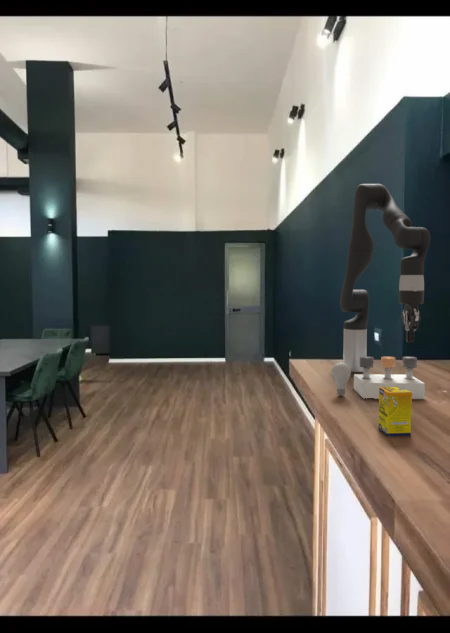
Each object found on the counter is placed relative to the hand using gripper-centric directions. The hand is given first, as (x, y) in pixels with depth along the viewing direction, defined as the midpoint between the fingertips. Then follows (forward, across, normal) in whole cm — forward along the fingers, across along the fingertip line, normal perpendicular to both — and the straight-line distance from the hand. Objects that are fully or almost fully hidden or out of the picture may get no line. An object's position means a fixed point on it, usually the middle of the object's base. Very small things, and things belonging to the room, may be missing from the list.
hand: (410, 342), depth 160 cm
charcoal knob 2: (+14, 0, 0) cm, 14 cm away
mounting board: (+17, 0, -7) cm, 18 cm away
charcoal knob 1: (+14, 0, -14) cm, 20 cm away
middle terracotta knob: (+14, 0, -7) cm, 15 cm away
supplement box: (+18, +41, -17) cm, 48 cm away
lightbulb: (+17, +4, -23) cm, 29 cm away
